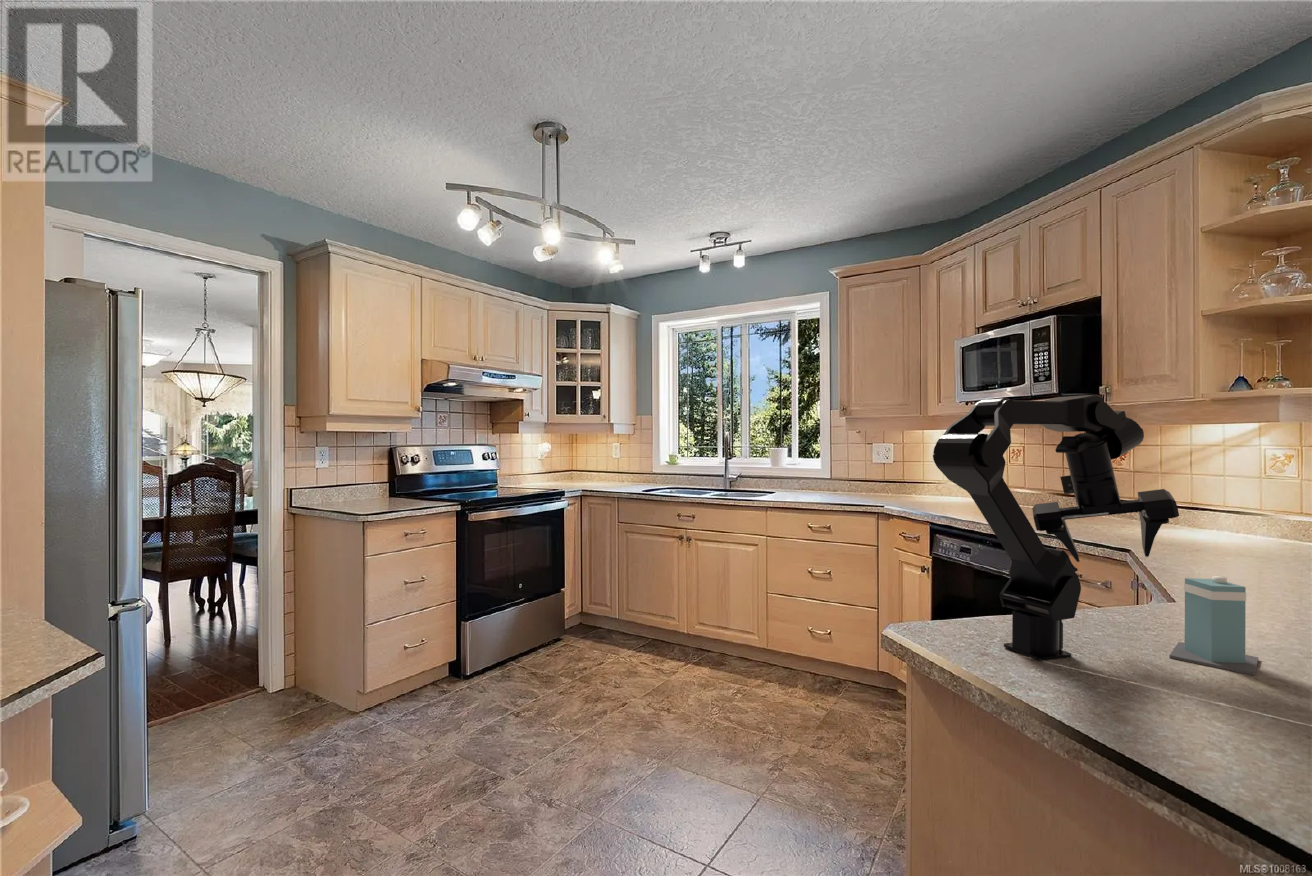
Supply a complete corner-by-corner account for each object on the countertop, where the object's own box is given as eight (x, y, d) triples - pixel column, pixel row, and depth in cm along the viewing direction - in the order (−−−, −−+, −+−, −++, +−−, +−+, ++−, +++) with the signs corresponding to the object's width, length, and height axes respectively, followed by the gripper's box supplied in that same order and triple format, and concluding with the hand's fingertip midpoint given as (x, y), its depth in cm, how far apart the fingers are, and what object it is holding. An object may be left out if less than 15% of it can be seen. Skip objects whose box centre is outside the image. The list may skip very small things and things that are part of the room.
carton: (1211, 661, 87) (1211, 580, 87) (1184, 649, 92) (1184, 572, 92) (1246, 663, 86) (1246, 581, 86) (1216, 651, 91) (1216, 573, 92)
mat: (1254, 675, 83) (1254, 672, 83) (1169, 657, 89) (1169, 655, 89) (1258, 660, 89) (1258, 657, 89) (1178, 644, 96) (1178, 642, 96)
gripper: (1153, 444, 98) (1172, 532, 101) (1023, 464, 108) (1042, 543, 111) (1169, 466, 89) (1189, 561, 91) (1025, 485, 99) (1046, 571, 101)
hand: (1111, 558), depth 99 cm, fingers open, 9 cm apart
